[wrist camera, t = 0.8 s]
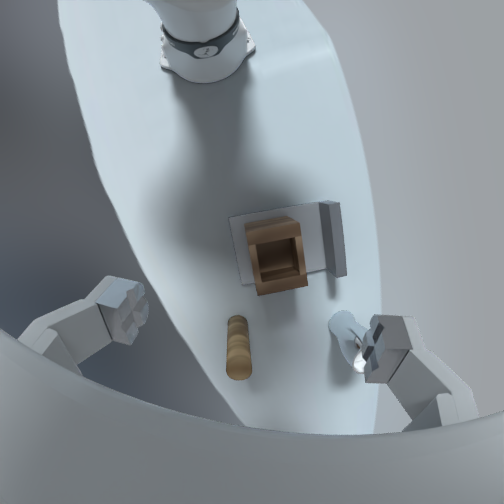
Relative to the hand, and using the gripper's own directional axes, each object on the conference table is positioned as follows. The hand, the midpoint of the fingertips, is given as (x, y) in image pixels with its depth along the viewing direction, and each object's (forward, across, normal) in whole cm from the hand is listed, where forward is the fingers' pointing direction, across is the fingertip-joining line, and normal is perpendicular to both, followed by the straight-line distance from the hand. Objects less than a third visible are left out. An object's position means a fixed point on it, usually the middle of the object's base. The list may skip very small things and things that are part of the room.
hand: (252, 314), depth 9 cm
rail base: (+40, 0, +18) cm, 44 cm away
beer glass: (+38, -15, +35) cm, 53 cm away
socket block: (+38, +2, +18) cm, 42 cm away
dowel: (+33, +7, +34) cm, 48 cm away
